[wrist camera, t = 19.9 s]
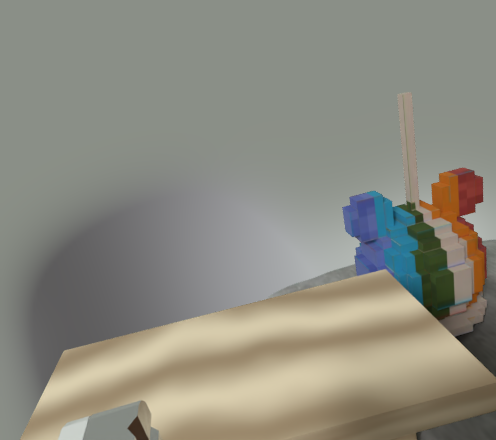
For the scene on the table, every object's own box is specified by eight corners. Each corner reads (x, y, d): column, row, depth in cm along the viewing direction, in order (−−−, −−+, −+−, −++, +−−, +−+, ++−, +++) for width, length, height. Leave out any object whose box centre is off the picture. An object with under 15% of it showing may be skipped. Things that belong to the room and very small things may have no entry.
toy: (445, 271, 65) (435, 78, 55) (522, 323, 51) (527, 74, 41) (341, 300, 64) (311, 107, 54) (389, 363, 49) (360, 115, 39)
